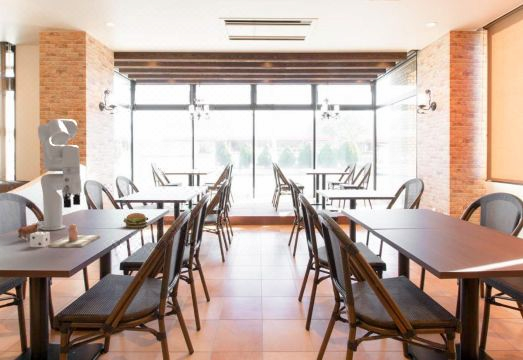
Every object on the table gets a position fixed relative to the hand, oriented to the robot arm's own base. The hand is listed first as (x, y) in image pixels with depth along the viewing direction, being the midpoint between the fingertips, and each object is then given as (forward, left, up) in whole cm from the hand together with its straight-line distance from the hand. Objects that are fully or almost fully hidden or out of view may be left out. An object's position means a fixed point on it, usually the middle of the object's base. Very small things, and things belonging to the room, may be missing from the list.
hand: (72, 206), depth 195 cm
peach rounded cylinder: (0, 0, -17) cm, 17 cm away
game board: (0, +2, -18) cm, 18 cm away
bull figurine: (-25, +7, -18) cm, 32 cm away
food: (+17, +44, -18) cm, 51 cm away
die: (-13, -6, -18) cm, 23 cm away
